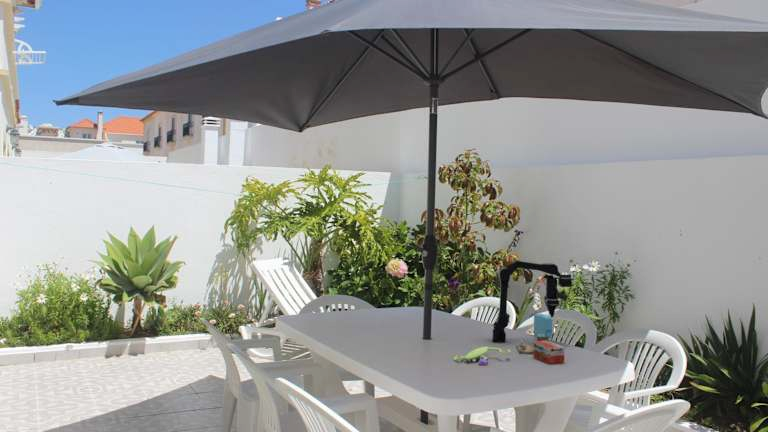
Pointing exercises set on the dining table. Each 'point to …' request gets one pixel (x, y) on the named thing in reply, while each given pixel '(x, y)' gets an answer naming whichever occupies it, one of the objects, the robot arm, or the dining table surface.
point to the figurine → (480, 355)
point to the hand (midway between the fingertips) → (551, 315)
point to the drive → (540, 337)
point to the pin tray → (528, 350)
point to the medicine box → (548, 352)
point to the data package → (543, 324)
